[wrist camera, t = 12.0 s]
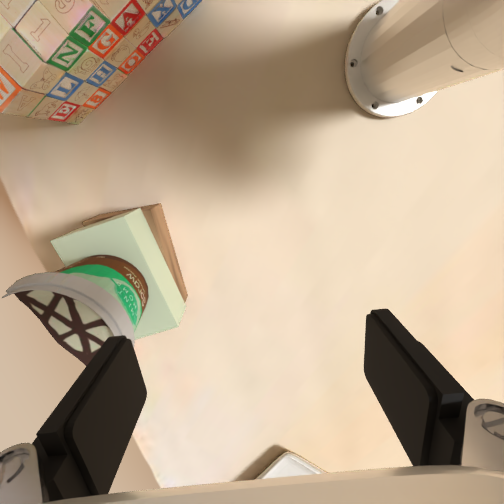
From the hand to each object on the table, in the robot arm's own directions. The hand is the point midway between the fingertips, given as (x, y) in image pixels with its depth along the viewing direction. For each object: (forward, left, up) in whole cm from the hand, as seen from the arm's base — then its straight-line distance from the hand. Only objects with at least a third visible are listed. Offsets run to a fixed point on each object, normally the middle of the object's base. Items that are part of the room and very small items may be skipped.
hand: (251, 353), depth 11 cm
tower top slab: (+16, +6, -26) cm, 31 cm away
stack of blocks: (+13, -21, -31) cm, 39 cm away
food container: (+15, +5, -21) cm, 26 cm away
